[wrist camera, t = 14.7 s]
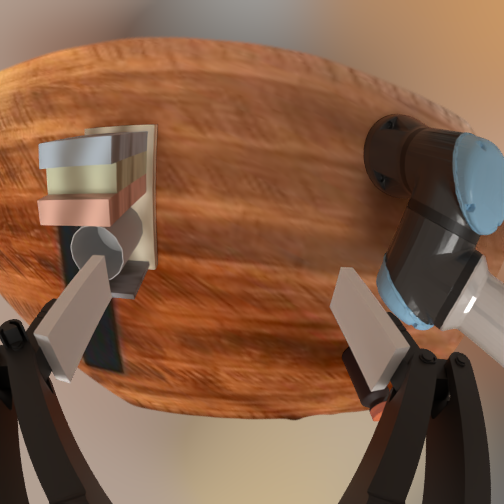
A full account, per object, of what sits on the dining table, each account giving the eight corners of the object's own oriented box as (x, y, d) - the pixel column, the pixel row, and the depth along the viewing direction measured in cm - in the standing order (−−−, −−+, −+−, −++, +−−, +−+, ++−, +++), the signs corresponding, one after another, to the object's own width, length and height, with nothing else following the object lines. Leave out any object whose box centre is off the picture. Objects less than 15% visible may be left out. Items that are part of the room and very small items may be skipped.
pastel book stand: (157, 124, 37) (116, 125, 22) (157, 264, 48) (132, 326, 32) (90, 128, 36) (28, 137, 21) (98, 260, 46) (58, 315, 31)
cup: (90, 215, 40) (61, 238, 31) (128, 194, 40) (103, 214, 31) (113, 256, 44) (91, 287, 35) (151, 240, 43) (134, 270, 34)
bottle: (344, 365, 65) (370, 427, 47) (338, 351, 62) (367, 417, 44) (368, 353, 64) (398, 413, 46) (363, 338, 61) (397, 401, 43)
